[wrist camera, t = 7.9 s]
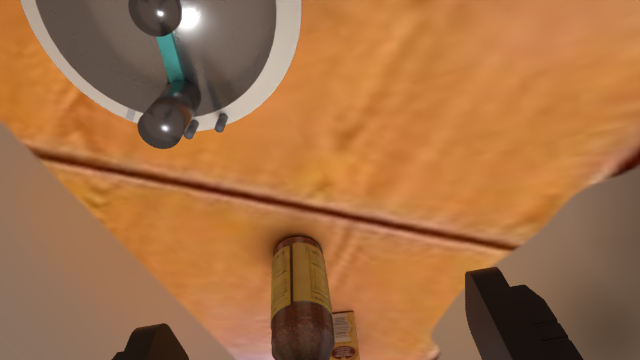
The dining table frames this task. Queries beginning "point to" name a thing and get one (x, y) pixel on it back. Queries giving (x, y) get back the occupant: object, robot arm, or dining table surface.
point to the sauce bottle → (300, 302)
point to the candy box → (344, 337)
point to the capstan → (164, 54)
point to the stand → (249, 101)
